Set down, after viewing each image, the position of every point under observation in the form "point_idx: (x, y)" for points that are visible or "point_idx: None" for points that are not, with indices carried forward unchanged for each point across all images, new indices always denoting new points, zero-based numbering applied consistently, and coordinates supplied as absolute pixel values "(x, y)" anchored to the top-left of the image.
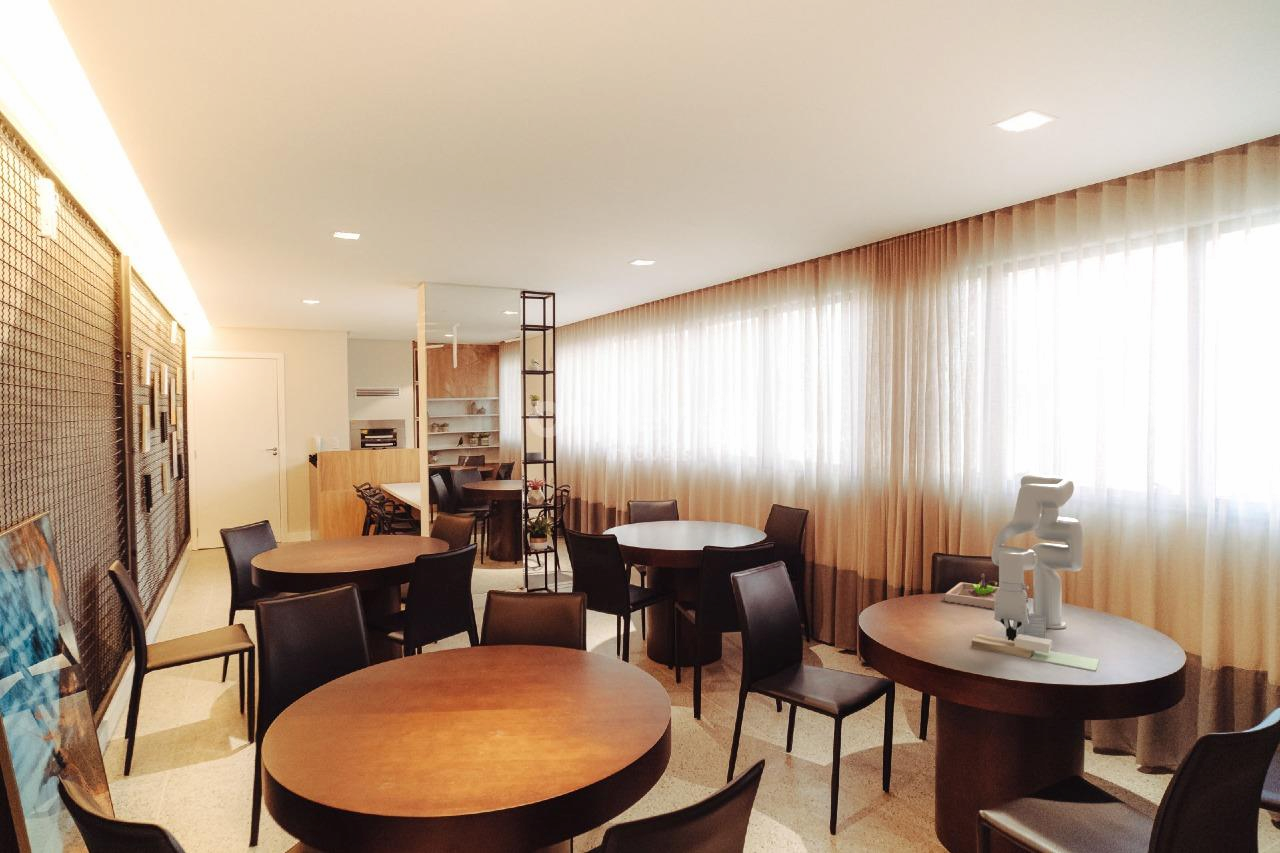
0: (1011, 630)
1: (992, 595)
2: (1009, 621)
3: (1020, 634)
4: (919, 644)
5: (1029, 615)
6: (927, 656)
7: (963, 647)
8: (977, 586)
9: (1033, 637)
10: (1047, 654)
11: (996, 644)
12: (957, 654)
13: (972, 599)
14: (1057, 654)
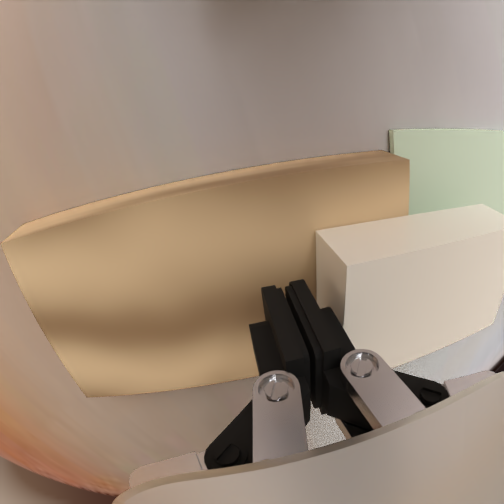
0: (319, 405)
1: None
2: (305, 430)
3: (361, 273)
4: (5, 425)
5: None
6: (102, 480)
7: (77, 385)
8: None
9: (448, 268)
10: (445, 208)
11: (210, 374)
12: (129, 448)
13: None
14: (477, 172)
